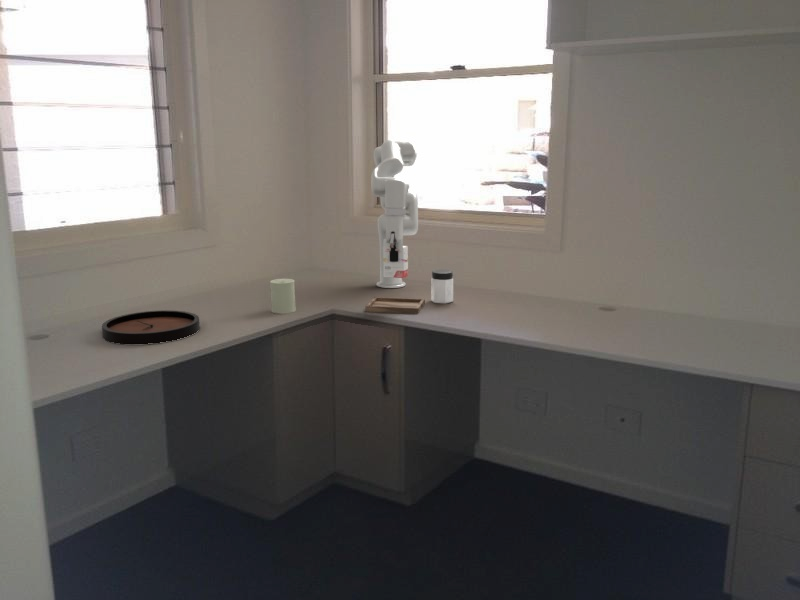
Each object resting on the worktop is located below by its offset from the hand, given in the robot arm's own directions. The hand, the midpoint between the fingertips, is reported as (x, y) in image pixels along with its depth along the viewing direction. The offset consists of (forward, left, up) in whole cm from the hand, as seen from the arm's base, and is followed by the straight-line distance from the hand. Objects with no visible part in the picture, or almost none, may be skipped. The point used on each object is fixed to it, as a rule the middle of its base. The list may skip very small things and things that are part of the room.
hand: (395, 259), depth 276 cm
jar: (-14, +16, -19) cm, 28 cm away
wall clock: (+48, -75, -19) cm, 91 cm away
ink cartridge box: (0, 0, -7) cm, 7 cm away
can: (+12, -41, -19) cm, 47 cm away
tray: (0, 0, -19) cm, 19 cm away
